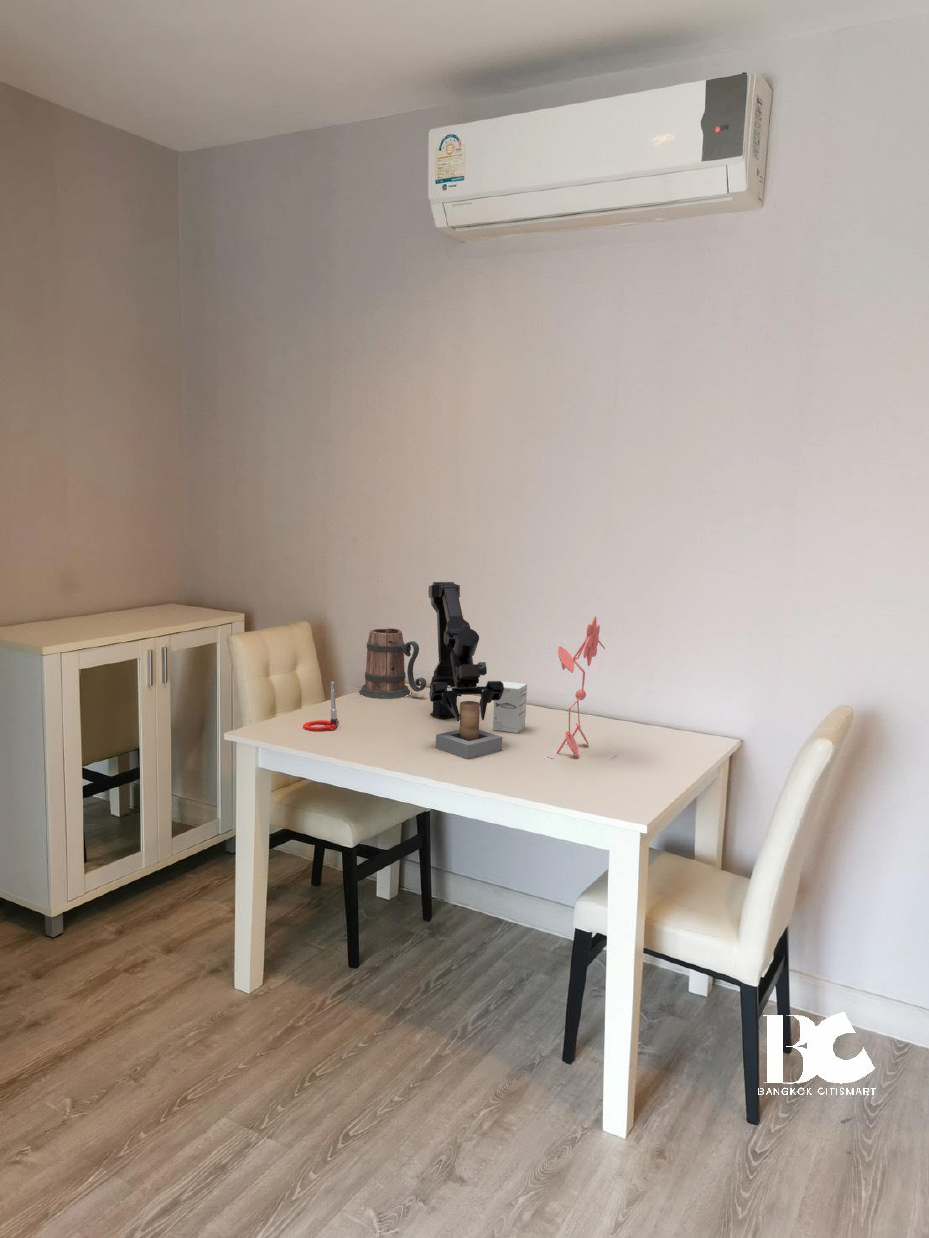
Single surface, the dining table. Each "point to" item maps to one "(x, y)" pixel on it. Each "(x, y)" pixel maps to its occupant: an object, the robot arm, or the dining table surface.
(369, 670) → the tankard
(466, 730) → the walnut peg
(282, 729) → the dining table surface
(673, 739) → the dining table surface
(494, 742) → the socket block
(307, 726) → the tow hook
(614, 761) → the dining table surface
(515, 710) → the supplement box
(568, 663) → the figurine
